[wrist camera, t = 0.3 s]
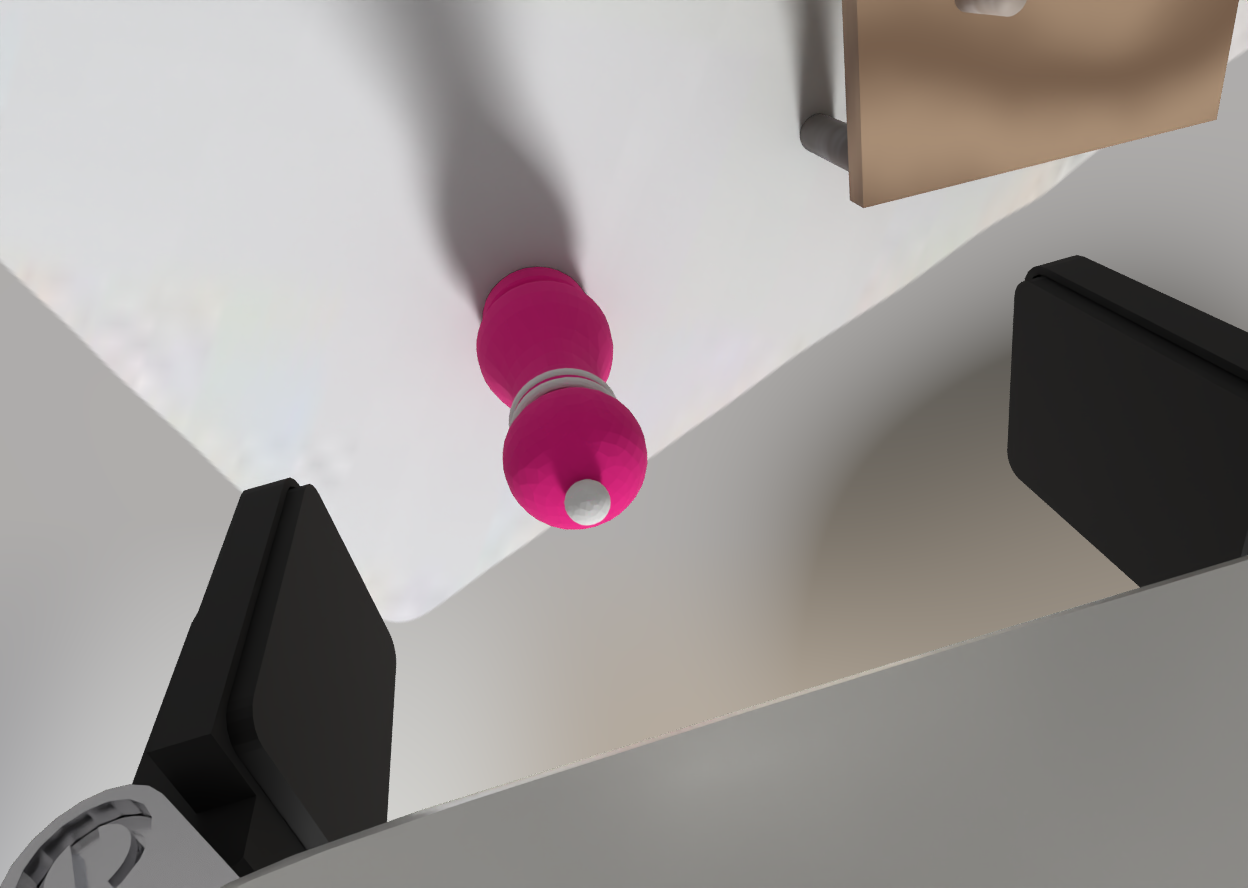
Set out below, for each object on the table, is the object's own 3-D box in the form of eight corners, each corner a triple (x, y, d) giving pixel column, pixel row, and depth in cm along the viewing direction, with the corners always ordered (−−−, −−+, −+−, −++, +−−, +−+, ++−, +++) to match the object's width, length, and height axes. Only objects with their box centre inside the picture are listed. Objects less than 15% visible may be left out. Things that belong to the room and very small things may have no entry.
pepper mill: (534, 397, 50) (584, 619, 34) (446, 318, 47) (451, 522, 30) (623, 318, 49) (721, 509, 32) (538, 230, 45) (599, 392, 29)
